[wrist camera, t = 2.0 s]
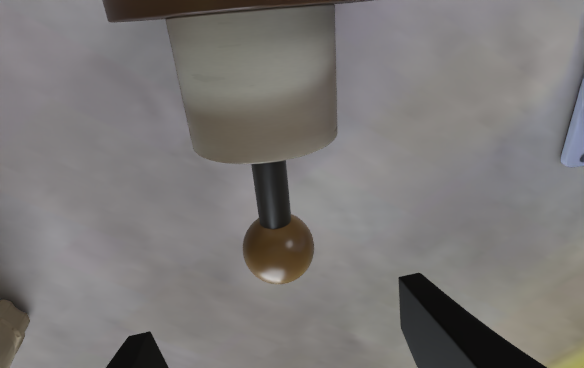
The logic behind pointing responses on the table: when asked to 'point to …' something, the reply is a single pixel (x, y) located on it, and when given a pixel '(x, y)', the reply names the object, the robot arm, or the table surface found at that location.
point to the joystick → (255, 101)
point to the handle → (11, 331)
